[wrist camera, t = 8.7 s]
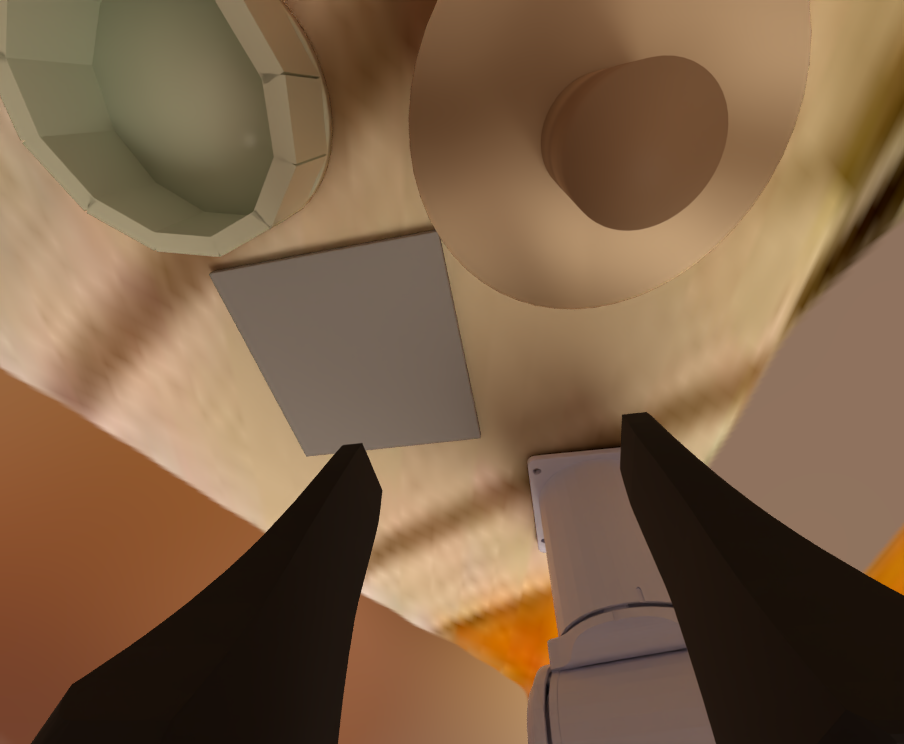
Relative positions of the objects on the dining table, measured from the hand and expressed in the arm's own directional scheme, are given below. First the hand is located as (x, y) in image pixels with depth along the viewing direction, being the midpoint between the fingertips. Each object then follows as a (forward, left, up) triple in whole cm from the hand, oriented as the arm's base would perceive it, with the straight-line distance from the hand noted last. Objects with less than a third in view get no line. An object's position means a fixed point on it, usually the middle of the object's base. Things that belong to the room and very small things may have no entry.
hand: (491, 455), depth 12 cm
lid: (+7, -4, -6) cm, 10 cm away
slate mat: (-2, +7, -10) cm, 12 cm away
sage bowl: (+10, +9, -10) cm, 17 cm away
